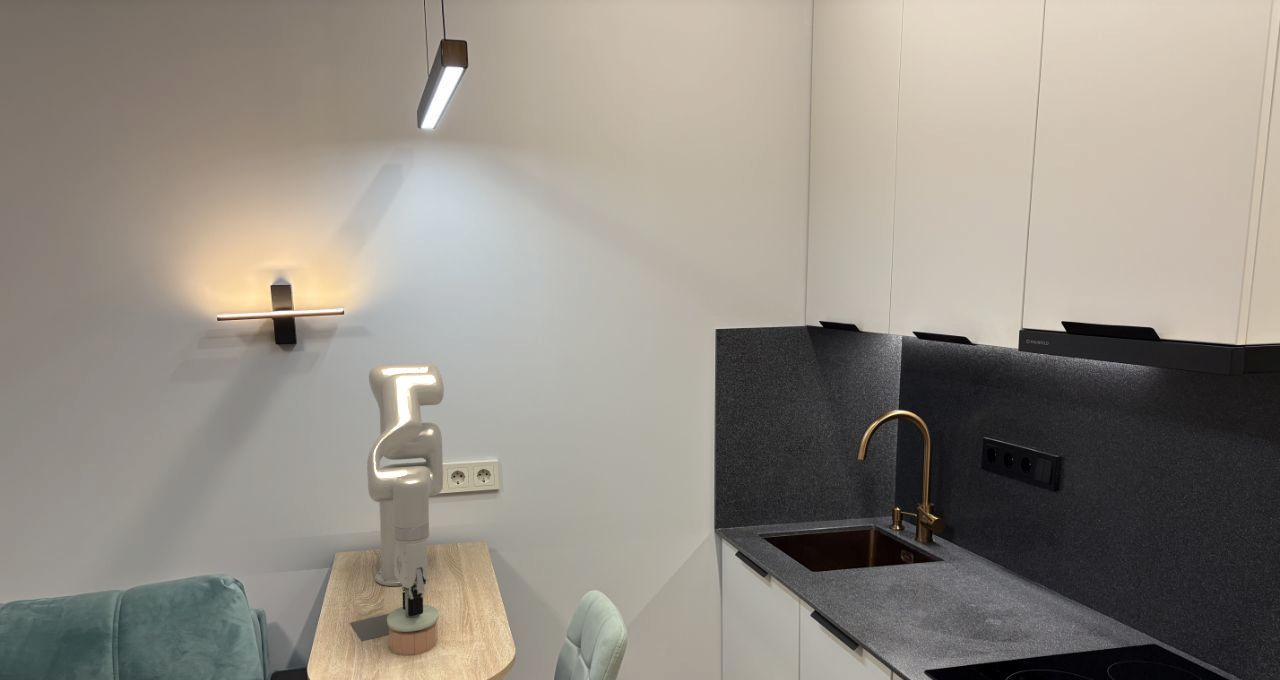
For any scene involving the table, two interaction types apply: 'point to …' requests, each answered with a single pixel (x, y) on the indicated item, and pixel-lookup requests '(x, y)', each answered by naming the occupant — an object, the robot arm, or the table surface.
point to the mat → (371, 627)
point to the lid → (405, 623)
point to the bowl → (413, 640)
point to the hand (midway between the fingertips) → (412, 610)
